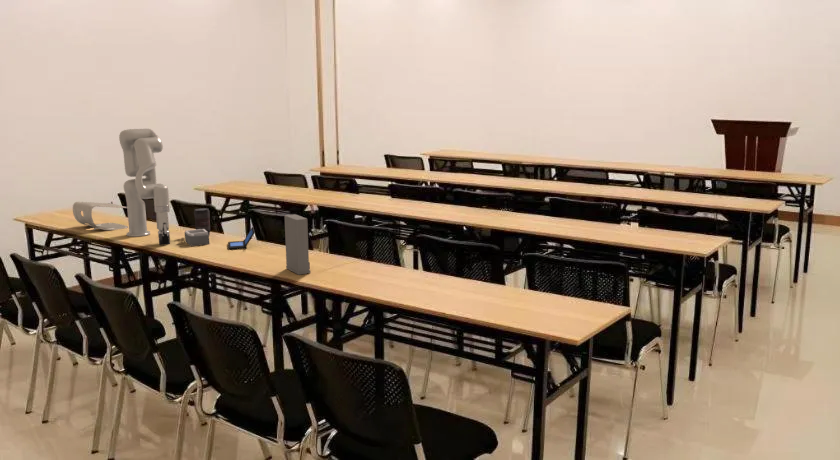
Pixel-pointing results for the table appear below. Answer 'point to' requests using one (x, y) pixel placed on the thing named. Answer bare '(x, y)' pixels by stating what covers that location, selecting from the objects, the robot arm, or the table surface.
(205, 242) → the camera body block
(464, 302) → the table surface
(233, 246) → the game console
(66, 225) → the table surface
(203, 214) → the camera lens
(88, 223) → the portable electronic device stand
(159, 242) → the ringed metal cylinder
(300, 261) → the tall grey upright pillar
